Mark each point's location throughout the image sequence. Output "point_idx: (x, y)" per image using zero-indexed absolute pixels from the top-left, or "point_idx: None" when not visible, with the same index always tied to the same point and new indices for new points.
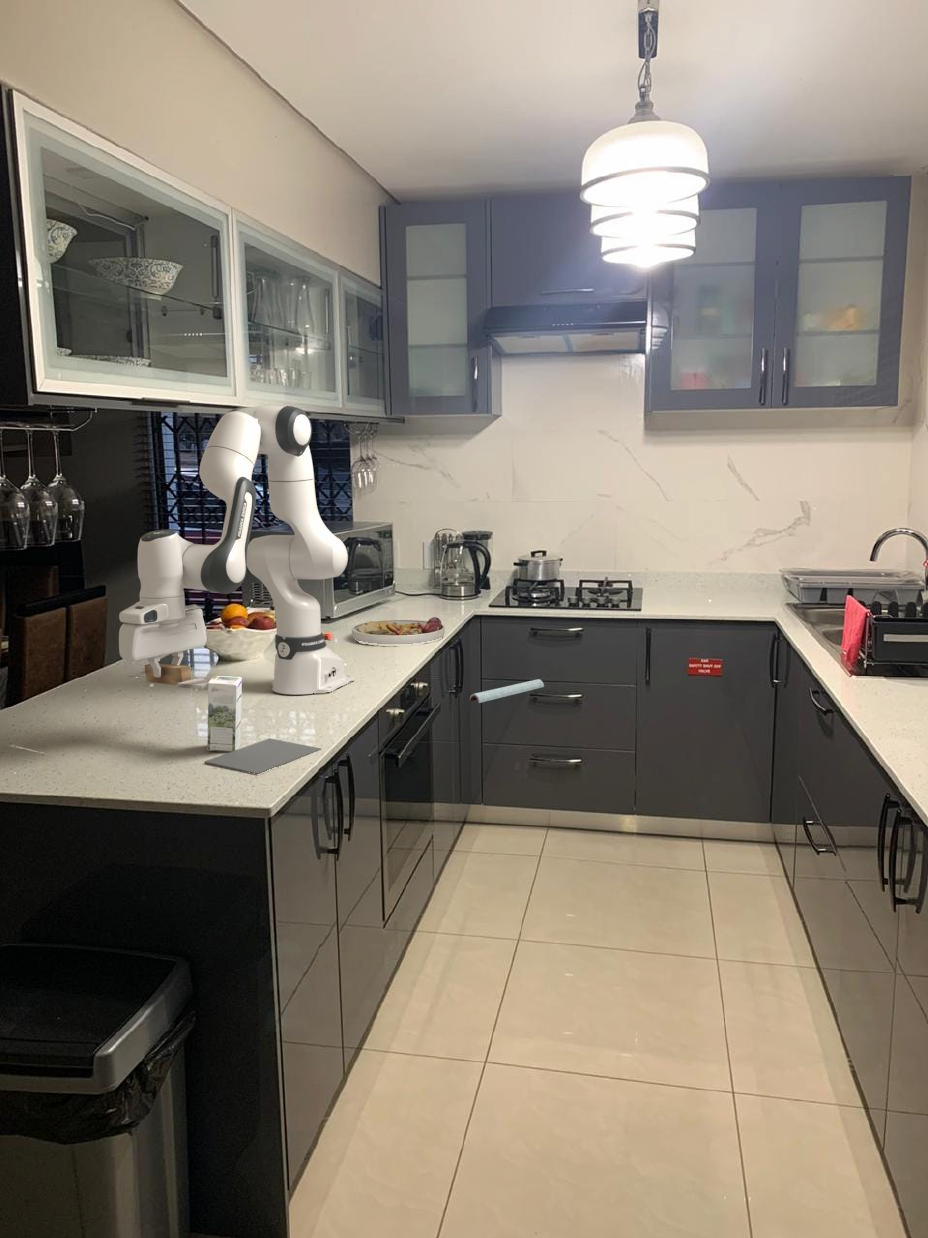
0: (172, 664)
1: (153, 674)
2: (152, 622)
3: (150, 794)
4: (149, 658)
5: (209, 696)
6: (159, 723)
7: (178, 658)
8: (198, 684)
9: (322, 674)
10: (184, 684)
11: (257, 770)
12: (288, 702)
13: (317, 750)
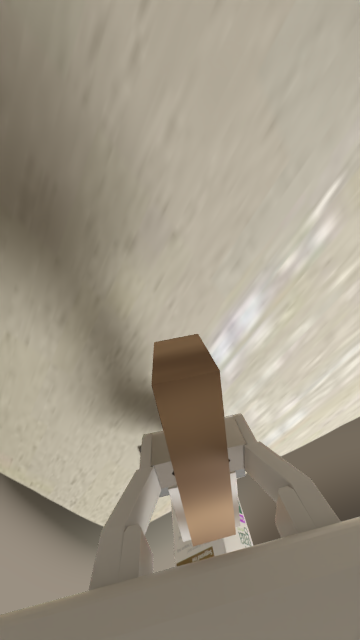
0: (244, 449)
1: (142, 439)
2: None
3: (49, 486)
4: (100, 571)
5: (174, 535)
6: (216, 231)
7: (274, 497)
8: (187, 530)
9: None
10: (173, 504)
11: (161, 493)
12: None
13: (239, 476)
